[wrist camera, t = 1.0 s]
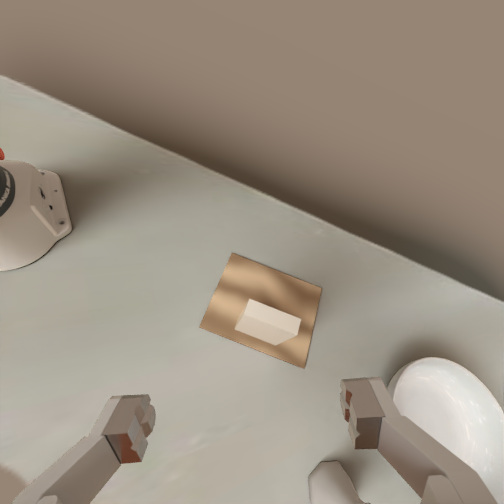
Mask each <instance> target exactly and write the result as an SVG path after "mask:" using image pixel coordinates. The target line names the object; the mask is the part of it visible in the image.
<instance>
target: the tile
mask: <svg viewBox="0 0 504 504" xmlns="http://www.w3.org/2000/svg"><path fill="white" fill-rule="evenodd" d="M300 322H301V319H300V318H297V317H295V316H292V315H290V314H287V313H285V312H282V311H279V310H277V309H274V308H272V307H269V306H267V305H264V304H262V303H259V302H257V301H254V300H252V299H249V300H248V302H247V304H246V306H245V307H244V309H243V311H242V312H241V314H240V316H239V318H238V321H237V323H236V326H235V330H237V331H240V332H242V333H245V334H248V335H250V336H253V337H255V338H258V339H260V340H263V341H265V342H268V343H270V344H273V345H275V346H276V345H278V344H280V343H282V342H284V341H286V340H288V339H290V338H293V337H295V336H297V334H298V330H299V326H300Z"/></svg>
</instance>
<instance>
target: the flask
mask: <svg viewBox="0 0 504 504" xmlns="http://www.w3.org/2000/svg"><path fill="white" fill-rule="evenodd" d="M308 482H309V494H310V503H311V504H370V503H364V502H363V501H362V500H360V498H359V496H358V494H357V492H356V490H355V488H354V485H353V483H352V481H351V479H350V477H349V476H348V475H347V473H346V472H345V470H344V469H343V468H342V466H341V465H340V463H339V462H338V461H332V462H321V463H320V464H319V465H318V466H317V467H316V469H315V470H314V471H313V472H312V473H311V475H310V476H309V477H308Z"/></svg>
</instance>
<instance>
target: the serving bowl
mask: <svg viewBox="0 0 504 504" xmlns="http://www.w3.org/2000/svg"><path fill="white" fill-rule="evenodd" d="M387 391H388V392H389V394H390V396H391V398H392V400H393V402H394V404H395V405H396V407H397V409H398V411H399V413H400V415H401V416H406V417H407V418H408V419H410V420H411V421H412V422H414V423H415V424H416V425H417V426H419V427H420V428H421V429H423V430H424V431H425V432H426V433H428V434H429V435H430V436H431V437H433V438H434V439H435V440H437V441H438V442H439V443H440V444H442V445H443V446H444V447H445V448H447V449H448V450H449V451H451V452H452V453H453V454H454V455H456V456H457V457H458V458H459V459H461V460H462V461H463V462H465V463H466V464H467V465H468V466H470V467H471V468H472V469H474V470H475V471H476V472H477V473H478V475H479V476H480V478H481V479H482V481H483V482H484V484H485V485H486V487H487V488H488V490H489V491H490V493H491V494H492V496H493V497H494V498H495V500H496V501H497V503H498V504H504V412H503V410H502V408H501V407H500V405H499V403H498V402H497V400H496V399H495V397H494V396H493V394H492V393H491V392H490V391H489V389H488V388H487V387H486V386H485V385H484V384H483V383H482V382H481V381H480V380H479V379H478V378H477V377H476V376H475V375H474V374H473V373H471V372H470V371H469V370H467V369H466V368H464V367H463V366H461V365H459V364H457V363H455V362H453V361H451V360H448V359H444V358H440V357H425V358H420V359H417V360H415V361H412V362H410V363H408V364H406V365H405V366H403V367H402V368H401V369H400V370H398V371H397V373H396V374H395V375H394V376H393V378H392V379H391V381H390V383H389V385H388V388H387Z"/></svg>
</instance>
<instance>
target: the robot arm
mask: <svg viewBox="0 0 504 504" xmlns="http://www.w3.org/2000/svg"><path fill="white" fill-rule="evenodd" d="M4 157H5V156H4V154H3V151H2V149H1V148H0V271H5V270H12V269H17V268H20V267H23V266H26V265H28V264H30V263H32V262H34V261H36V260H37V259H39V258H40V257H42V256H43V255H44V254H45V253H46V252H47V251H48V250H49V249H50V248H51V247H52V246H53V245H54V244H55V242H57V241H58V240H59V239H61V238H63V237H64V236H66V235H67V234H69V233H70V232H71V230H72V226H71V221H70V217H69V213H68V209H67V205H66V200H65V196H64V192H63V188H62V184H61V180H60V177H59V176H58V175H57V174H56V173H54V172H51V171H47V170H41V169H36V168H35V167H34V166H33V165H31V164H28V163H25V162H21V161H11V160H4ZM62 223H64V224H62ZM340 386H341V389H342V392H341V393H340V402H341V408H342V412H343V415H344V418H345V420H346V421H347V422H348V423H349V434H350V437H351V440H352V443H353V446H354V449H378V451H379V452H380V453H381V454H382V455H383V457H384V458H385V459H386V460H387V461H388V462H389V463H390V464H391V465H392V466H393V468H394V469H395V470H396V471H397V472H398V473H399V474H400V475H401V476H402V478H403V479H404V480H405V481H406V482H407V483H408V484H409V485H410V486H411V487H412V489H413V490H414V491H415V492H416V493H417V494H418V495H419V496H420V497H421V499H422V500H421V504H498V503H497V501H496V500H495V498H494V497H493V496H492V494H491V493H490V491H489V490H488V488H487V487H486V485H485V484H484V482H483V481H482V479H481V478H480V476H479V475H478V473H477V472H476V471H475V470H474V469H472V468H471V467H470V466H468V465H467V464H466V463H465V462H463V461H462V460H461V459H459V458H458V457H457V456H456V455H454V454H453V453H452V452H451V451H449V450H448V449H447V448H445V447H444V446H443V445H442V444H440V443H439V442H438V441H437V440H435V439H434V438H433V437H431V436H430V435H429V434H428V433H426V432H425V431H424V430H423V429H421V428H420V427H419V426H417V425H416V424H415V423H414V422H412V421H411V420H410V419H408V418H407V417H406V416H401V415H400V413H399V411H398V409H397V407H396V405H395V404H394V402H393V400H392V398H391V396H390V394H389V392H388V391H387V389H386V387H385V385H384V383H383V381H382V379H381V378H380V377H369V378H365V377H364V378H353V379H342V380H341V384H340ZM150 400H151V399H150V397H149V395H148V394H145V395H123V396H112V397H111V398H110V399H109V400H108V402H107V403H106V405H105V407H104V409H103V411H102V412H101V414H100V416H99V418H98V419H97V421H96V423H95V425H94V426H93V428H92V430H91V432H90V434H89V435H88V436H87V437H84V438H82V439H81V440H80V441H79V442H78V443H77V444H76V445H74V446H73V447H72V448H71V449H70V450H69V451H67V452H66V453H65V454H64V455H63V456H62V457H61V458H59V459H58V460H57V461H56V462H55V463H54V464H53V465H51V466H50V467H49V468H48V469H47V470H46V471H45V472H43V473H42V474H41V475H40V476H39V477H38V478H37V479H35V480H34V481H33V482H32V483H31V484H30V485H29V486H27V487H26V488H25V489H24V490H23V491H22V492H21V493H20V494H18V495H17V496H16V498H15V499H14V501H13V502H12V504H90V502H91V501H92V500H93V499H94V498H95V496H96V495H97V494H98V493H99V491H100V490H101V489H102V488H103V486H104V485H105V484H106V483H107V482H108V480H109V479H110V478H111V477H112V475H113V474H114V473H115V472H116V470H117V469H118V468H119V467H120V466H121V465H120V464H124V463H135V462H142V459H143V456H144V453H145V451H146V448H147V445H148V441H147V437H148V436H149V435H150V433H151V432H152V431H153V428H154V425H155V418H156V414H155V409H154V407H153V406H152V405H150V404H149V403H150Z"/></svg>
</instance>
